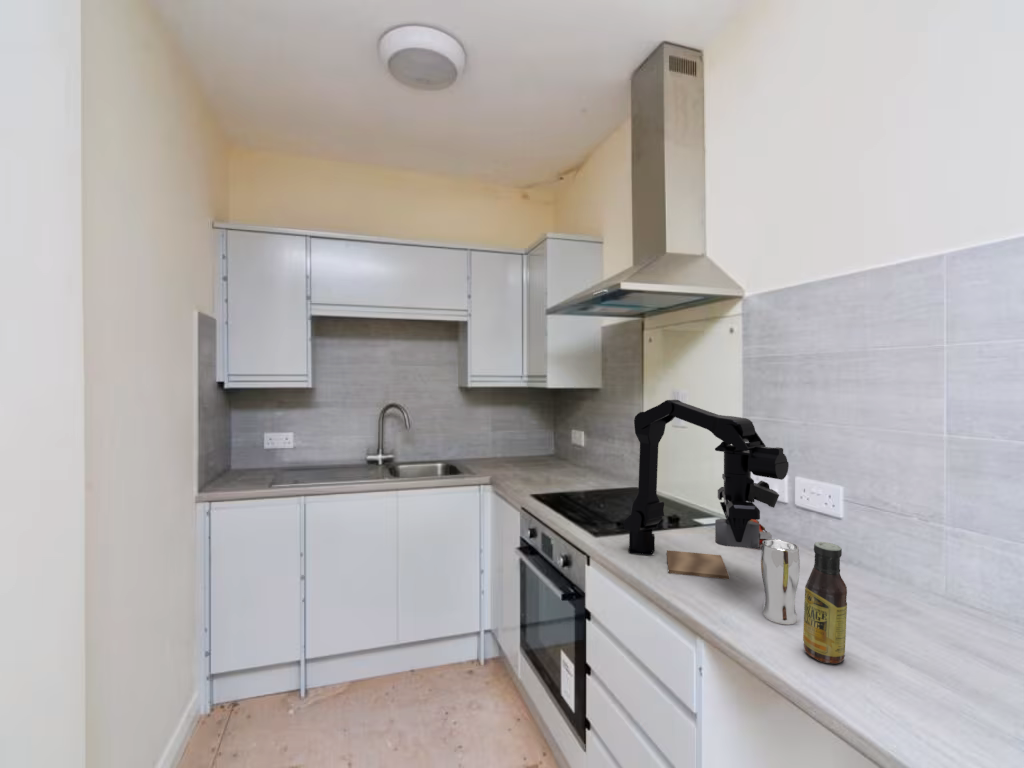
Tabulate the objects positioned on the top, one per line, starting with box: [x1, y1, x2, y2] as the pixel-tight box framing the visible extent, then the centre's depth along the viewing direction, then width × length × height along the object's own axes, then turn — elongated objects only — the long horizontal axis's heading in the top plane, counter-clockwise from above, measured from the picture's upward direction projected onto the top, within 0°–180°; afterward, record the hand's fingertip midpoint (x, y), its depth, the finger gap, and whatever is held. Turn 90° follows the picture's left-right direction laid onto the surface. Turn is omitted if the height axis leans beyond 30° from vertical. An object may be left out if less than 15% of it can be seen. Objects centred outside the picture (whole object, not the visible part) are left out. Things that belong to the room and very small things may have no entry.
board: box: [666, 549, 730, 580], centre depth 125 cm, size 14×14×1 cm
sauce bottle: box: [802, 541, 848, 665], centre depth 84 cm, size 6×6×20 cm
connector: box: [714, 518, 773, 549], centre depth 111 cm, size 12×4×5 cm, turn 74°
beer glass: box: [760, 538, 801, 626], centre depth 98 cm, size 7×7×15 cm
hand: (736, 538), depth 112 cm, fingers closed on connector, 4 cm apart
